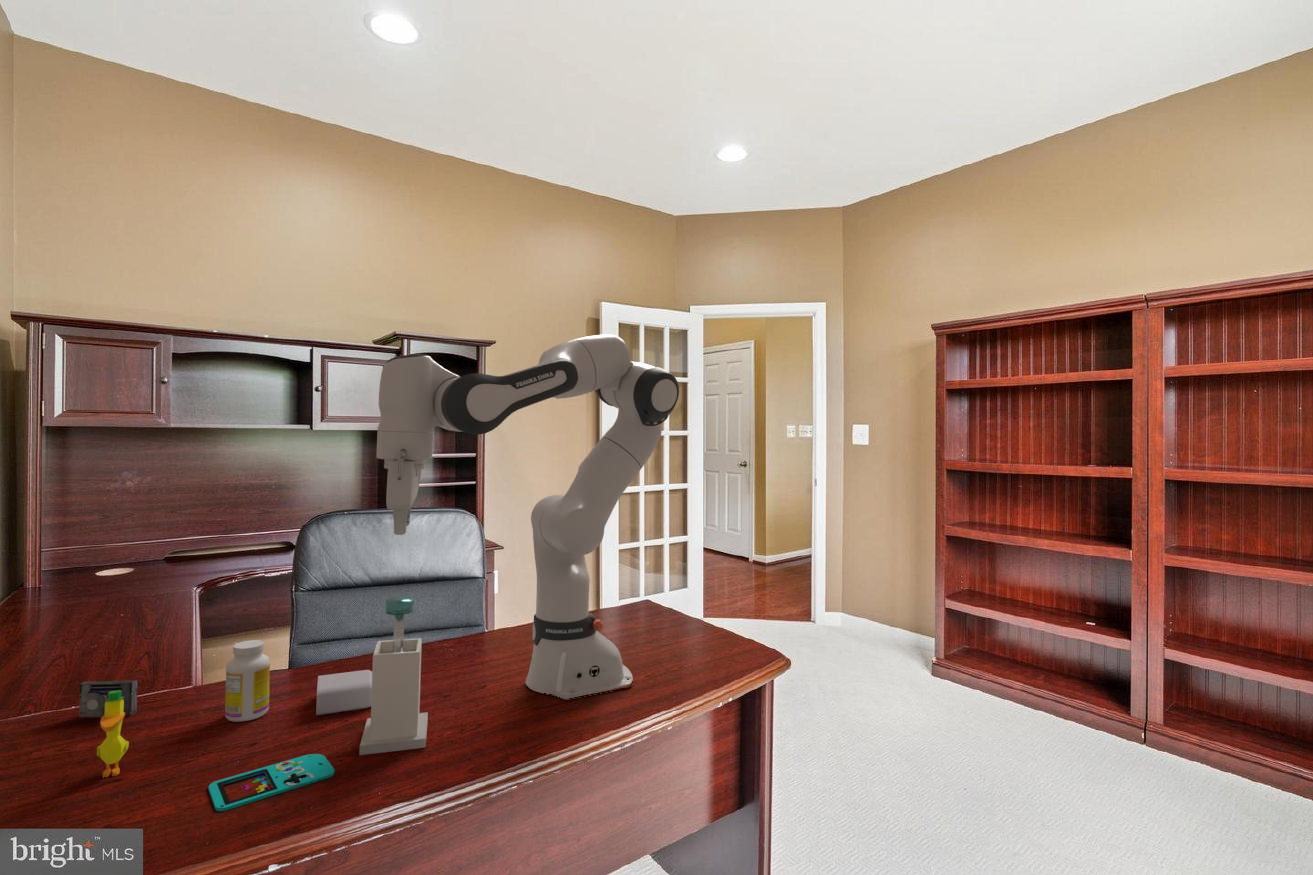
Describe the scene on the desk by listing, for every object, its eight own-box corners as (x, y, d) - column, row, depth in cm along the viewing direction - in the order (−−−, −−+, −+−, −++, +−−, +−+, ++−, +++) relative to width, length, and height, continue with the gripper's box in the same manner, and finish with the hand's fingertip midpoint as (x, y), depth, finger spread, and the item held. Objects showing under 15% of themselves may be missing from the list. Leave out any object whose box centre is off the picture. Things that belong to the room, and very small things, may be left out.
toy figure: (122, 782, 91) (124, 699, 91) (89, 788, 89) (91, 704, 89) (130, 760, 97) (132, 683, 97) (100, 766, 95) (102, 687, 95)
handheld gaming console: (336, 770, 95) (216, 808, 85) (336, 777, 95) (216, 816, 85) (320, 749, 101) (207, 782, 91) (320, 755, 101) (207, 789, 91)
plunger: (413, 663, 110) (415, 595, 110) (411, 673, 106) (414, 602, 106) (383, 665, 109) (385, 596, 109) (380, 676, 104) (383, 604, 104)
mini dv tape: (136, 712, 113) (137, 679, 113) (131, 716, 112) (132, 682, 112) (85, 714, 112) (86, 680, 112) (78, 717, 110) (79, 683, 110)
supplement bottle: (269, 704, 118) (271, 636, 118) (267, 718, 112) (270, 647, 112) (226, 710, 115) (228, 640, 115) (222, 726, 109) (224, 652, 109)
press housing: (427, 720, 114) (430, 635, 114) (425, 747, 104) (428, 654, 104) (367, 726, 111) (369, 638, 110) (359, 755, 101) (362, 659, 101)
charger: (404, 704, 120) (315, 718, 114) (400, 686, 129) (317, 698, 122) (405, 680, 120) (316, 691, 114) (401, 663, 129) (318, 673, 122)
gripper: (421, 451, 98) (418, 540, 98) (427, 447, 118) (424, 521, 118) (378, 450, 96) (374, 540, 96) (390, 446, 116) (387, 521, 116)
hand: (402, 529), depth 107 cm, fingers open, 8 cm apart
